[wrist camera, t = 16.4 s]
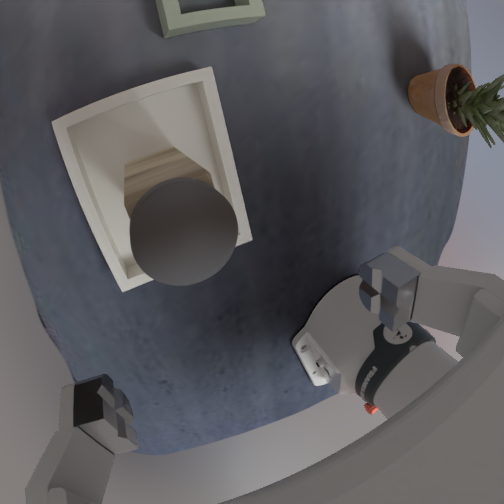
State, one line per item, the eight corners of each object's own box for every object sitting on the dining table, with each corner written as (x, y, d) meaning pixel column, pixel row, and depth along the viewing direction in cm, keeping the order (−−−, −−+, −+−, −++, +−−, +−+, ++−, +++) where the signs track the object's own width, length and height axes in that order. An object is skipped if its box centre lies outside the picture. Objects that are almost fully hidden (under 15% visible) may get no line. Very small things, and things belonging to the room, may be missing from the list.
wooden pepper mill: (192, 194, 27) (248, 262, 16) (138, 215, 26) (154, 300, 15) (176, 140, 24) (223, 167, 13) (118, 161, 23) (112, 208, 12)
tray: (241, 228, 31) (252, 239, 29) (121, 275, 28) (122, 292, 26) (202, 70, 23) (211, 66, 20) (59, 120, 20) (51, 121, 17)
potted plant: (425, 52, 30) (587, 80, 10) (443, 108, 35) (588, 154, 15) (388, 78, 30) (584, 117, 10) (411, 140, 35) (576, 203, 15)
